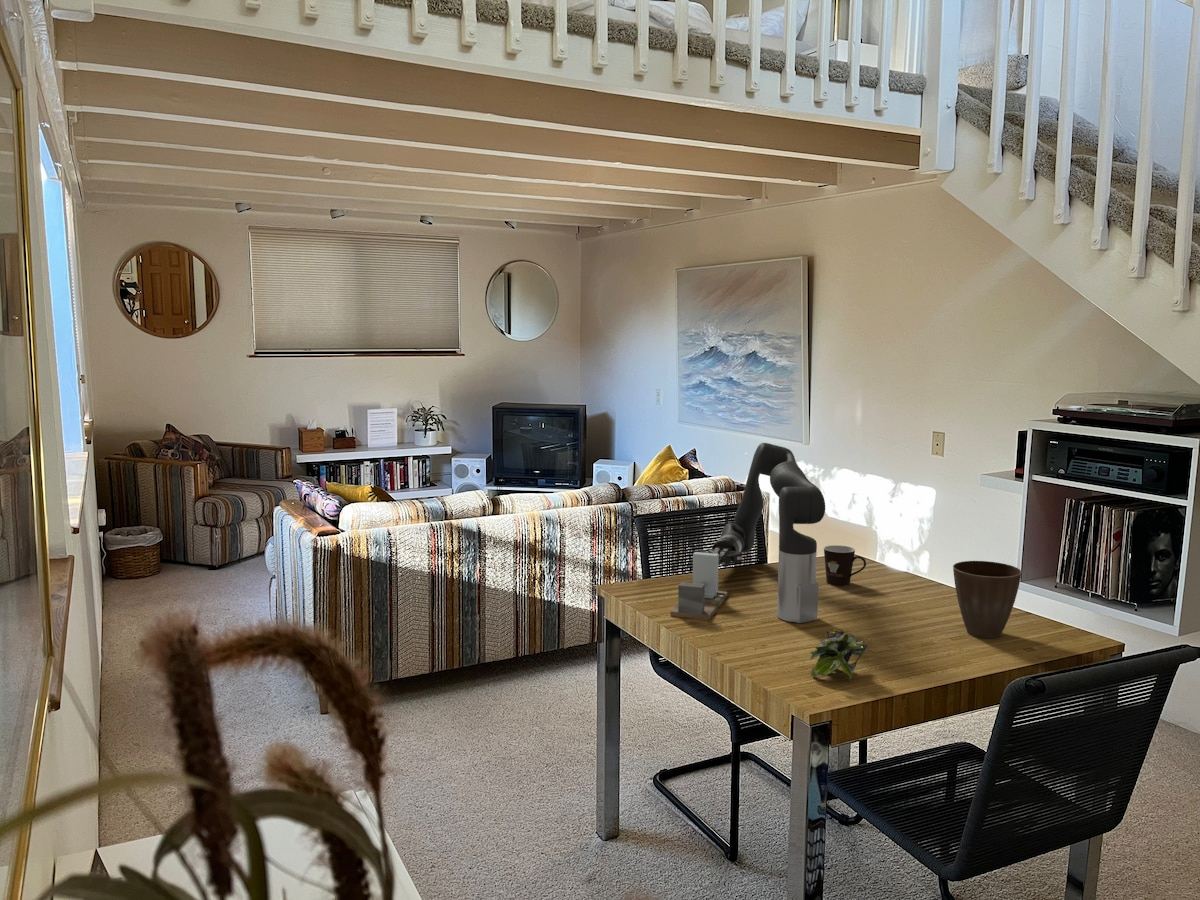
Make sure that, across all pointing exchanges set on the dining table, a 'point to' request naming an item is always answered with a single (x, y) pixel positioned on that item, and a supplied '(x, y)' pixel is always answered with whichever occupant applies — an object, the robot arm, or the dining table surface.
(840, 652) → the passion flower
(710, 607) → the board
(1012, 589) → the plant pot
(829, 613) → the dining table surface
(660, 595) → the dining table surface
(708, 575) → the panel
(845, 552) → the coffee mug
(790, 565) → the robot arm
